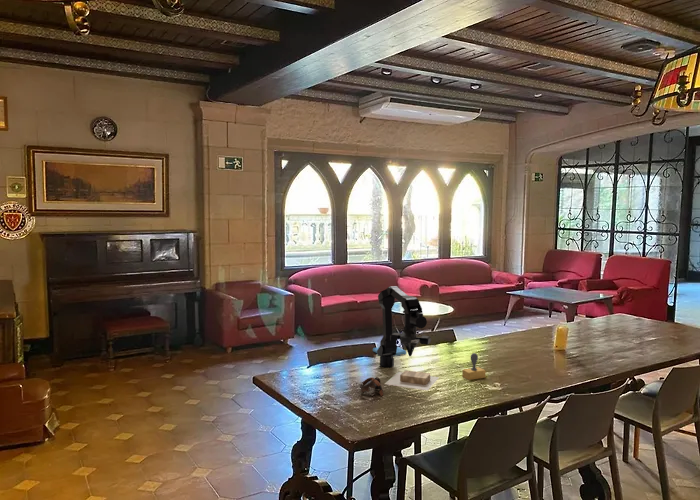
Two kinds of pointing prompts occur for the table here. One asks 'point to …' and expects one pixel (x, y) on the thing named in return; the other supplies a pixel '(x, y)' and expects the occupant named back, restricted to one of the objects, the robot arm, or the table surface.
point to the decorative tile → (398, 352)
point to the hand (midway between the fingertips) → (410, 356)
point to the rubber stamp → (473, 370)
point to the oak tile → (415, 377)
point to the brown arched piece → (371, 385)
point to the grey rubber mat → (396, 381)
